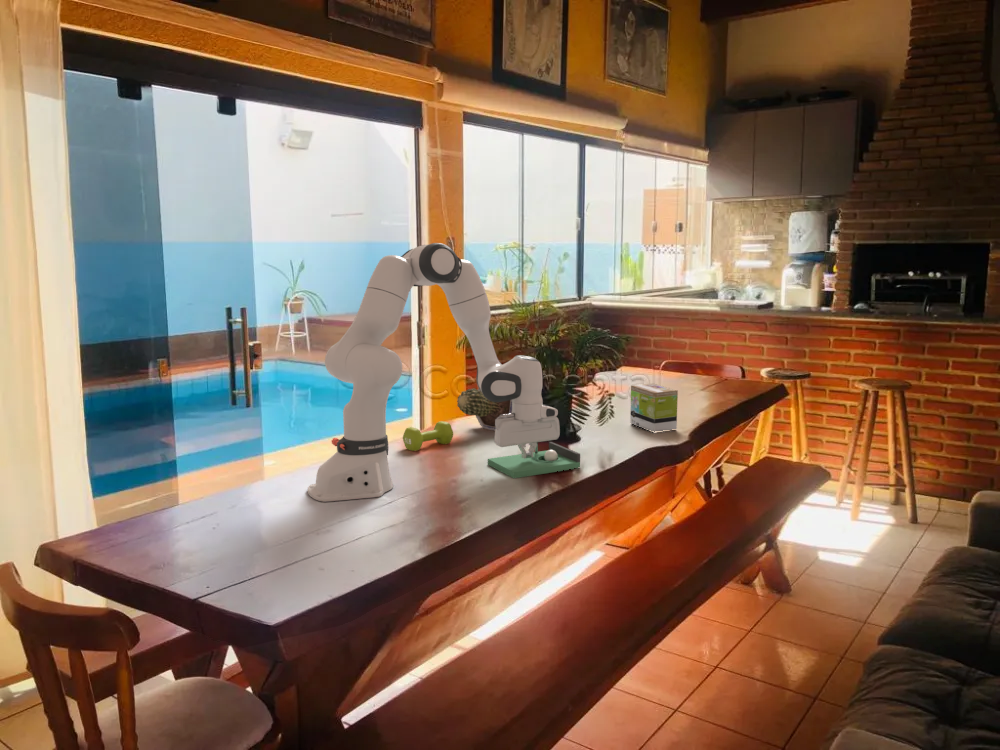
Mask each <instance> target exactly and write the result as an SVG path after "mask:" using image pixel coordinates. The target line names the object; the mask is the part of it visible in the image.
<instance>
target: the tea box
mask: <svg viewBox="0 0 1000 750" xmlns="http://www.w3.org/2000/svg"><path fill="white" fill-rule="evenodd" d="M678 395H679V391H678V390H677V389H674V388H670V387H667V386H663V385H660V384H657V383H644V384H636V385H630V419H629V421H630V422H629V423H631V424H634V425H637V426H639V427H642V428H645V429H648V430H651V431H654V432H655V431H663V430H672V429H678V427H677V426H678V422H677V421H678ZM631 424H630V425H631ZM634 425H633V426H634ZM637 426H636V427H637ZM639 427H638V428H639ZM642 428H641V429H642Z"/></svg>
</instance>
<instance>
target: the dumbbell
mask: <svg viewBox="0 0 1000 750" xmlns="http://www.w3.org/2000/svg"><path fill="white" fill-rule="evenodd" d="M453 437H454V431H453V428H452V425H451V423H450V422H447V421H443V420H440V421H438V422H436V423H435V425H434V427H433V430H426V431H423V432H421V430H420V429H419V428H416V427H412V426H411V427H410V426H409V427H406V428H405V430H404V433H403V434H402V440H403V444H404V447H405V449H407V450H409V451H411V452H417V451H419V450H421V448H422V445H423V443H424V442H425V443H426V442H429V441H434V440H435V441H436V442H437V443H438V444H441V445H448V444H450V443H451V441H452V439H453Z"/></svg>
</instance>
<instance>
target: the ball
mask: <svg viewBox="0 0 1000 750" xmlns="http://www.w3.org/2000/svg"><path fill="white" fill-rule="evenodd" d="M545 451H546V453H545V455H544V458H545V460H546V461H554V460H557V458H558V455H557V453H556V452H555V451H554V450H549V449H548V451H547V450H545Z"/></svg>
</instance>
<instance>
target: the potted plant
mask: <svg viewBox="0 0 1000 750" xmlns="http://www.w3.org/2000/svg"><path fill="white" fill-rule="evenodd" d="M460 393H461V394H459V396H458V397H457V401H456V402H457V405H456V407H458V408H459V411H461V412H462V413H464V414H466V415H469V416H475V418H476V420H477V422H478V423H479V425H480V426H481V428H483V429H484V430H488V431H489V430H491V431H494V432H495V429H496V427H495V420H496V418H497V417H499V416H500V415H501V414H509V413H512V400H508V401H503V402H492V401H490V400H488V399H487V398H486V397H485V396H484V395H483V393H482V392H481V391H480V389H479V388H478V389H476V388H469V389H466V390H464V391H461V392H460ZM498 419H499V418H498Z"/></svg>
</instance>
